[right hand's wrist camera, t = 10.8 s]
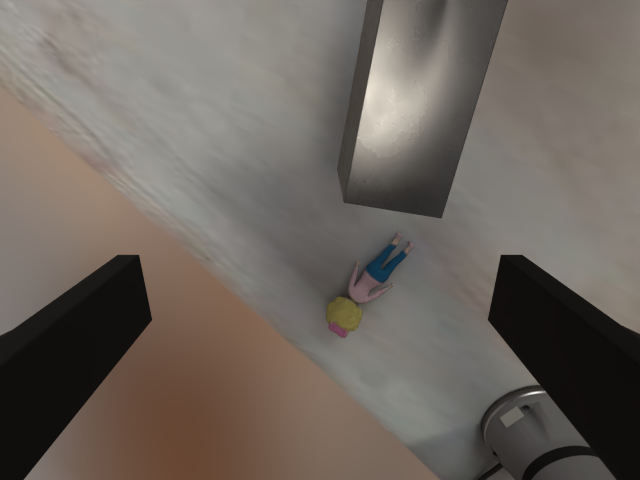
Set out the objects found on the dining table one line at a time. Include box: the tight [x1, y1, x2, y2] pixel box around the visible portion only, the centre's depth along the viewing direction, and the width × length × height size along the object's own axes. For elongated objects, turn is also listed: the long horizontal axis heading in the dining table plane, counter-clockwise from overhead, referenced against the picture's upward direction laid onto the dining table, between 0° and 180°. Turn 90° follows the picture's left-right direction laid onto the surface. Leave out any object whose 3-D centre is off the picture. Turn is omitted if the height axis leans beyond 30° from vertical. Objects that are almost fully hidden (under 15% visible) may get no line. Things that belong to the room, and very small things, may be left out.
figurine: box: [326, 232, 414, 338], centre depth 44 cm, size 6×4×15 cm
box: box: [337, 0, 508, 218], centre depth 22 cm, size 23×6×12 cm, turn 171°
